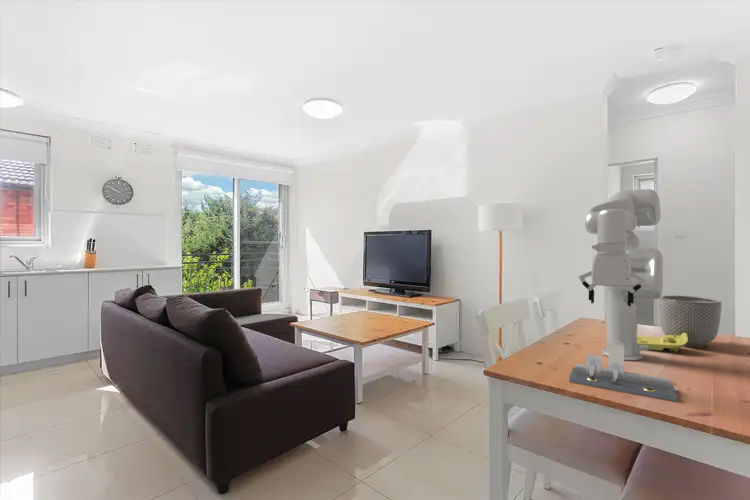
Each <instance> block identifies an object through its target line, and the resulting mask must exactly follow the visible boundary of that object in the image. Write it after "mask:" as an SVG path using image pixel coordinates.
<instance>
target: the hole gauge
mask: <svg viewBox="0 0 750 500" xmlns="http://www.w3.org/2000/svg"><path fill="white" fill-rule="evenodd" d="M568 382H570V383H575V384H580V385H584V386H590V387H595V388H600V389H607V390H610V391H611V390H612V391H618V392H622V393H628V394H632V395H633V394H634V395H638V394H639V396H643V395H644V396H643V397H648V396H649V398H655V399H660V400H665V401H671V402H676V403H677V402H678V395H677V393H676V390H675V387H674V384H673V383H671V380H670V378H665V377H661V376H659V377H658V376H653V375H648V374H641V373H634V372H629V371H624V373H619V372H618V382H613V371H608V368H603V367H602V356H600V355H593V354H588V353H587V354H586V356H585V364H579V363H575V365H574V367H572V370H571V372H570V374H569V381H568Z"/></svg>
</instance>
